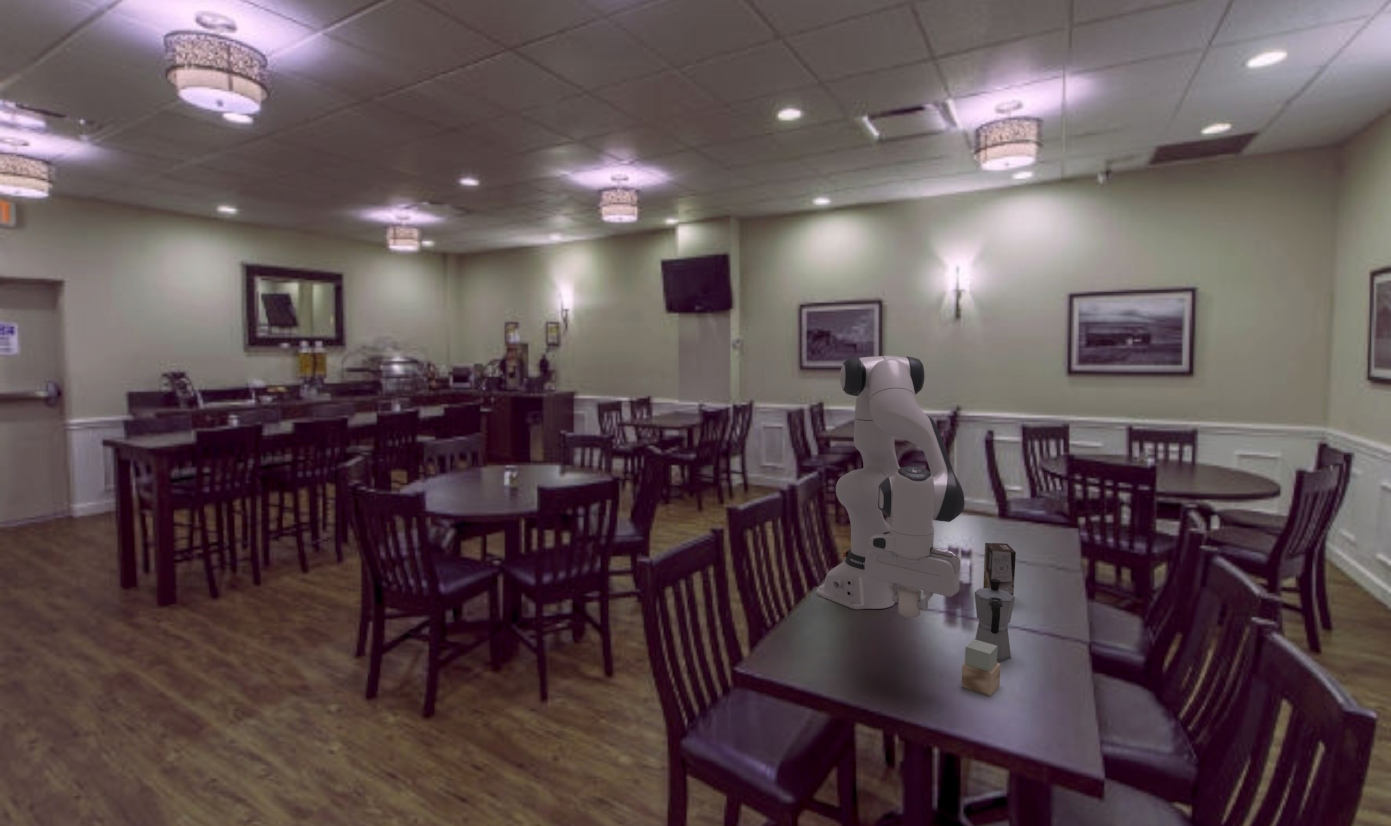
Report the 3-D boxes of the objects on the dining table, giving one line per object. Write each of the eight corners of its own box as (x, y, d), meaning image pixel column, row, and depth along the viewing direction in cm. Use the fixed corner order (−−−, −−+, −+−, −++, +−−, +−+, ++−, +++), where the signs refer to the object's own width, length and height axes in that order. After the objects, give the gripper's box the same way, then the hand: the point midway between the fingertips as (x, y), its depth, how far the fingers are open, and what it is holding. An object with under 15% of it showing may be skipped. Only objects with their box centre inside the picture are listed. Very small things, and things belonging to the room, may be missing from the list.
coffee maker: (971, 638, 165) (974, 569, 164) (1010, 644, 162) (1013, 573, 160) (972, 665, 151) (976, 589, 150) (1015, 672, 148) (1018, 594, 147)
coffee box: (1013, 608, 185) (1016, 552, 183) (989, 606, 186) (991, 550, 185) (1005, 596, 194) (1008, 542, 192) (982, 594, 195) (984, 541, 194)
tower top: (964, 664, 142) (965, 646, 141) (972, 656, 145) (973, 639, 145) (989, 672, 138) (989, 653, 138) (996, 663, 142) (997, 645, 142)
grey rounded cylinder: (894, 613, 143) (894, 590, 143) (903, 607, 147) (904, 585, 146) (914, 619, 140) (915, 596, 140) (923, 612, 144) (924, 590, 143)
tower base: (961, 687, 142) (962, 664, 141) (971, 676, 146) (972, 655, 146) (990, 696, 138) (991, 673, 138) (999, 685, 142) (1000, 663, 142)
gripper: (966, 550, 137) (963, 614, 139) (875, 531, 151) (873, 589, 152) (954, 557, 133) (951, 623, 134) (862, 537, 146) (860, 597, 148)
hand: (909, 605), depth 143 cm, fingers closed on grey rounded cylinder, 5 cm apart
